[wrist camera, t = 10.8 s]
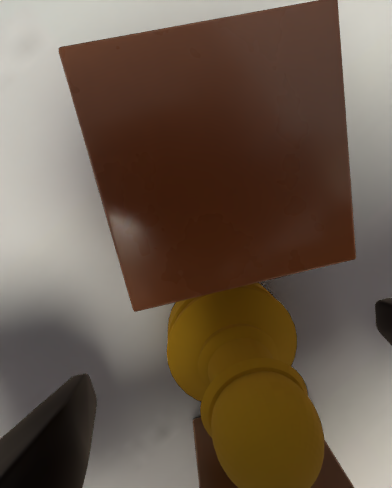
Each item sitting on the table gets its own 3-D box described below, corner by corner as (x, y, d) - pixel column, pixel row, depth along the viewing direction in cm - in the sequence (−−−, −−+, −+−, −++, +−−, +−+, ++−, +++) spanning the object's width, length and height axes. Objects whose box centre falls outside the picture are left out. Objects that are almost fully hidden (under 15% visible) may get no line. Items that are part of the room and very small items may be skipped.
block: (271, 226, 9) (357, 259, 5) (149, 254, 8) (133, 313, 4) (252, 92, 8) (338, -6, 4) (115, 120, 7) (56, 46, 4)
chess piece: (292, 283, 9) (439, 396, 4) (263, 383, 10) (357, 578, 5) (179, 263, 8) (195, 364, 4) (157, 370, 9) (143, 576, 4)
